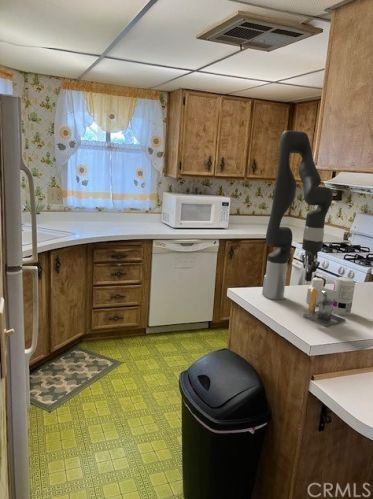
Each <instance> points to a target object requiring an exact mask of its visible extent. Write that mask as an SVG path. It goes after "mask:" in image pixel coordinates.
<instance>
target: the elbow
mask: <svg viewBox="0 0 373 499" xmlns="http://www.w3.org/2000/svg"><path fill="white" fill-rule="evenodd" d="M333 290H334V289H330V288H329V289H328V288H327V289H320V292H318V290H317V289H311V293H310V295H309V303H308V309H307V310H308V311H307V313H311V314H314V313H315V311H316V307H317V305H316V304H320V303H330V304H331V303H335V299H336V292H335V291H333Z"/></svg>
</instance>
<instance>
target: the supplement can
mask: <svg viewBox="0 0 373 499" xmlns="http://www.w3.org/2000/svg"><path fill="white" fill-rule="evenodd" d="M355 287H356V283H355V279H353V278H351V277H346V276H337V277H336V279H335V280H334V283H333V289H332V290H333V291H335V292H336V299H335V303H333V306H332V313H334V314H335V315H341V316H348V315H350V314H351V312H352V308H353V307H352V306H353V299H354V293H355Z"/></svg>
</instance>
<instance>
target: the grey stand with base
mask: <svg viewBox="0 0 373 499" xmlns="http://www.w3.org/2000/svg"><path fill="white" fill-rule="evenodd" d="M332 306H333V303H331V304H330V303H320V306H318V310H315V313H314V314H311V313H308V312H307V313H305V314H304V313H303V314H302V318H304V319H307V320H309V321H311V322H314V323H316V324H318V325H321V326H324V327H325V328H330V327H333V326H337V325H339V324H344V323H346V321H347V319H346V318H343V317H340V316H338V315H337V314H333V312H332Z"/></svg>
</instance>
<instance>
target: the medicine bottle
mask: <svg viewBox="0 0 373 499" xmlns="http://www.w3.org/2000/svg"><path fill="white" fill-rule="evenodd" d="M326 281H327V280H326V278H324V277H321V276H312V280H311V282H310V283H311V284H310V286H309V287H308V288H307V294H306V304H309V295H310V293H311V289H317V290H318V292H320V289H328V287H326V284H327V283H326ZM316 306H318V307H319V306H320V304H316Z"/></svg>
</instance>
